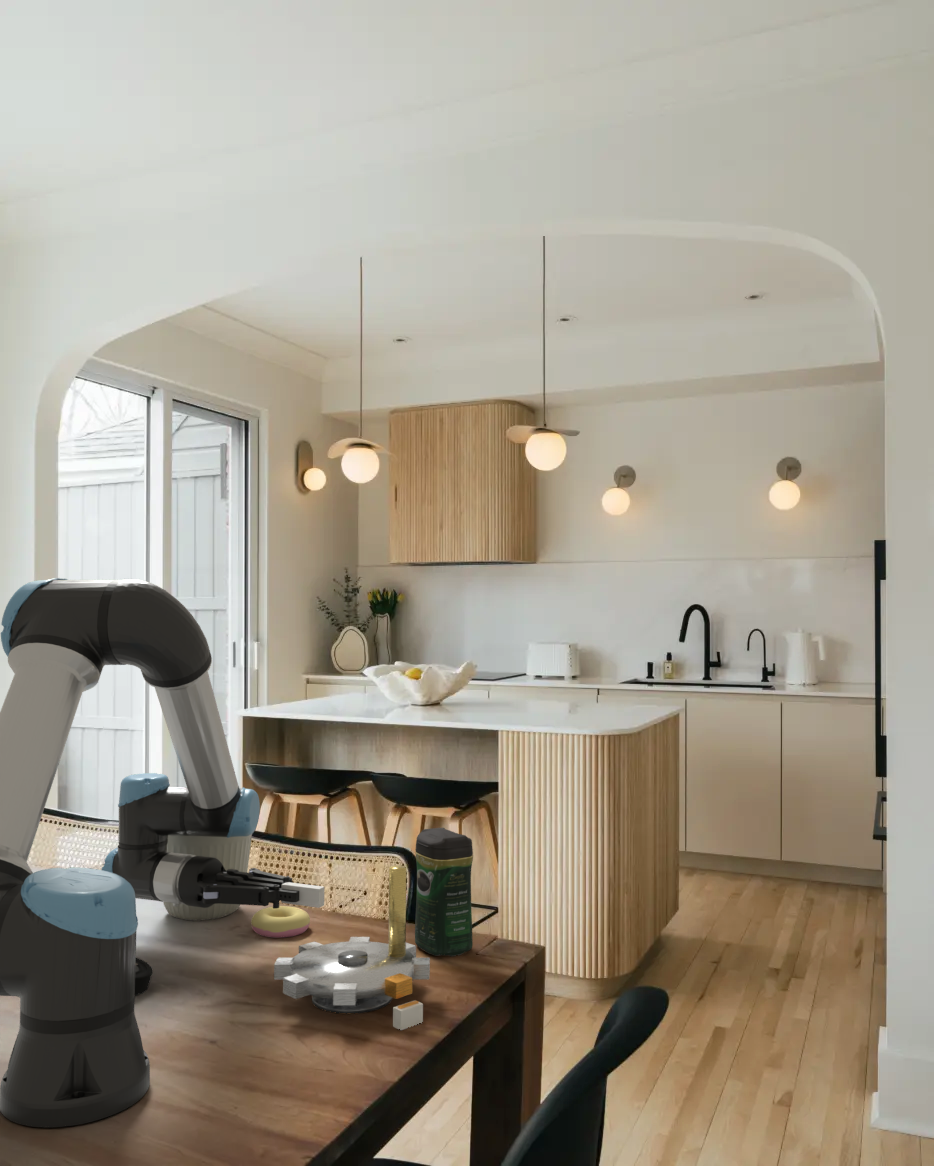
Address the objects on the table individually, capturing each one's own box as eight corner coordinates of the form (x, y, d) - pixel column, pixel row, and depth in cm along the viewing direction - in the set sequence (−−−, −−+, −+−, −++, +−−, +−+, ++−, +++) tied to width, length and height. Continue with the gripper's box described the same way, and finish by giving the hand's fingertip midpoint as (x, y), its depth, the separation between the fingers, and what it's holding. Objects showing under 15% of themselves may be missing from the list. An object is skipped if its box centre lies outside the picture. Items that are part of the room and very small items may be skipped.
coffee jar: (480, 953, 154) (481, 833, 154) (436, 961, 150) (436, 838, 150) (450, 936, 162) (451, 822, 163) (407, 943, 158) (408, 827, 159)
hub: (369, 1019, 128) (369, 997, 128) (296, 1006, 132) (296, 985, 132) (406, 990, 138) (406, 970, 138) (337, 979, 142) (337, 960, 142)
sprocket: (300, 1015, 121) (301, 900, 122) (259, 963, 140) (260, 863, 140) (453, 989, 130) (453, 881, 131) (395, 943, 149) (395, 849, 149)
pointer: (400, 1030, 124) (401, 1009, 124) (393, 1026, 125) (393, 1005, 125) (422, 1022, 126) (422, 1002, 127) (414, 1019, 128) (415, 998, 128)
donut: (274, 956, 159) (321, 935, 165) (274, 929, 158) (321, 909, 164) (240, 933, 165) (286, 914, 172) (239, 907, 165) (285, 889, 171)
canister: (276, 908, 177) (278, 790, 178) (198, 934, 162) (201, 805, 163) (207, 893, 187) (209, 781, 188) (127, 916, 172) (130, 795, 173)
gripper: (217, 894, 160) (343, 911, 150) (162, 915, 148) (297, 935, 138) (217, 847, 160) (344, 861, 151) (163, 865, 148) (297, 881, 139)
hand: (321, 897), depth 145 cm, fingers closed
